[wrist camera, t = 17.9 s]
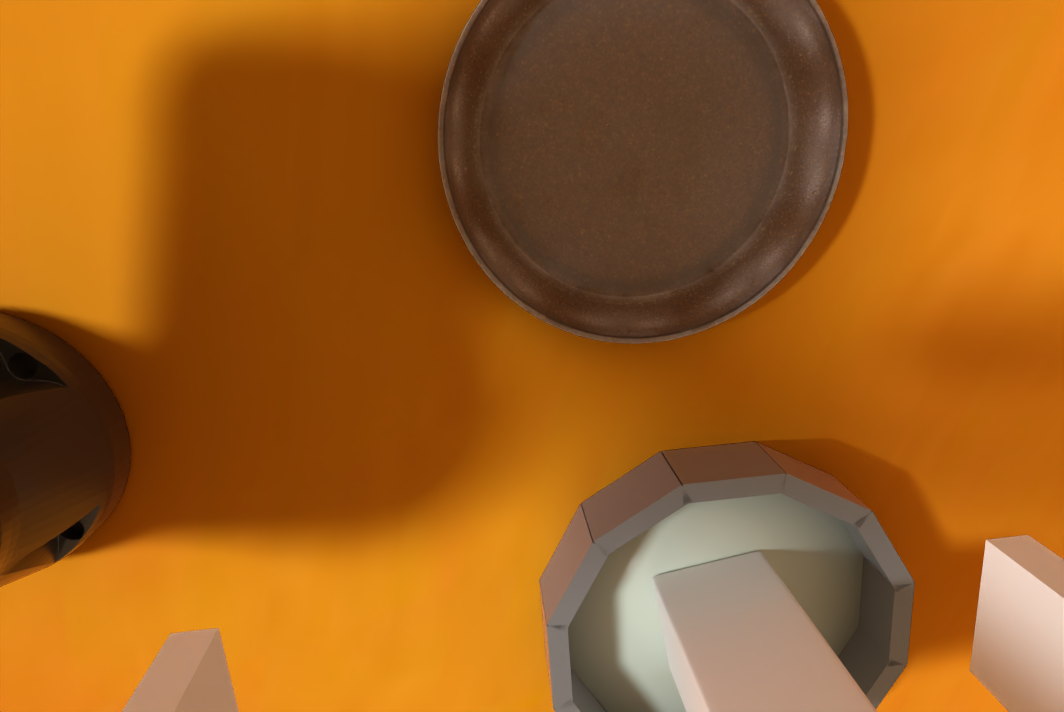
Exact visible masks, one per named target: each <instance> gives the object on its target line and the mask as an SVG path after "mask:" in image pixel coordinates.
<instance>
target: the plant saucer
mask: <svg viewBox="0 0 1064 712" xmlns="http://www.w3.org/2000/svg"><path fill="white" fill-rule="evenodd" d="M847 134H848V97H847V88H846V81H845V75H844V70H843V66H842V61H841V58H840V55H839V51H838V47H837V44H836V41H835V38H834V36H833V34H832V32H831V29H830V26H829V24H828V22H827V20H826V18H825V16H824V14H823V12H822V10H821V8H820V7H819V5H818V3H817V2H816V0H481V1H480V3H479V4H478V6H477V7H476V9H475V10H474V12H473V14H472V15H471V17H470V19H469V20H468V22H467V24H466V25H465V27H464V29H463V31H462V33H461V35H460V37H459V40H458V42H457V44H456V47H455V49H454V52H453V54H452V57H451V60H450V63H449V66H448V70H447V73H446V77H445V80H444V84H443V89H442V95H441V101H440V109H439V119H438V155H439V164H440V171H441V177H442V182H443V187H444V191H445V195H446V198H447V202H448V205H449V208H450V211H451V214H452V216H453V219H454V222H455V224H456V226H457V228H458V231H459V232H460V234H461V236H462V238H463V240H464V242H465V244H466V246H467V248H468V249H469V251H470V253H471V254H472V256H473V257H474V259H475V260H476V262H477V263H478V264H479V266H480V267H481V268H482V270H483V271H484V272H485V273H486V275H487V276H488V277H489V278H490V279H491V280H492V281H493V282H494V283H495V285H496V286H497V287H498V288H499V289H500V290H501V291H502V292H503V293H504V294H506V295H507V296H508V297H509V298H510V299H511V300H513V301H514V302H515V303H516V304H518V305H519V306H520V307H522V308H523V309H524V310H526V311H527V312H529V313H531V314H532V315H534V316H535V317H537V318H539V319H540V320H542V321H544V322H546V323H548V324H550V325H552V326H554V327H556V328H559V329H561V330H564V331H566V332H569V333H572V334H575V335H578V336H581V337H585V338H589V339H594V340H599V341H605V342H614V343H630V344H639V343H653V342H661V341H668V340H673V339H677V338H681V337H685V336H688V335H692V334H695V333H698V332H701V331H704V330H707V329H709V328H711V327H714V326H716V325H718V324H720V323H722V322H724V321H726V320H728V319H730V318H732V317H734V316H735V315H737V314H738V313H740V312H742V311H743V310H745V309H746V308H748V307H749V306H751V305H752V304H754V303H755V302H756V301H758V300H759V299H760V298H762V297H763V296H764V295H765V294H766V293H768V292H769V291H770V290H771V289H772V288H773V287H774V286H775V285H776V284H778V283H779V282H780V281H781V279H782V278H783V277H784V276H785V275H786V274H787V273H788V272H789V271H790V270H791V269H792V267H793V266H794V265H795V263H796V262H797V261H798V260H799V259H800V257H801V256H802V255H803V253H804V252H805V250H806V249H807V247H808V246H809V245H810V243H811V242H812V240H813V238H814V236H815V235H816V233H817V231H818V229H819V228H820V226H821V224H822V222H823V220H824V218H825V216H826V214H827V211H828V209H829V207H830V205H831V203H832V200H833V197H834V194H835V191H836V189H837V186H838V182H839V179H840V175H841V170H842V166H843V162H844V155H845V148H846V141H847Z"/></svg>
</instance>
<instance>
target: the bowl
mask: <svg viewBox="0 0 1064 712" xmlns="http://www.w3.org/2000/svg"><path fill="white" fill-rule="evenodd" d="M757 551H760V552H762V553H763V554H764V556H765V557H766V559H767V560H768V561H769V563H770V564H771V565H772V567H773V568H774V570H775V571H776V572H777V574H778V575H779V577H780V578H781V579H782V581H783V582H784V583H785V585H786V586H787V588H788V589H789V590H790V592H791V593H792V594H793V596H794V597H795V599H796V600H797V601H798V603H799V604H800V606H801V607H802V608H803V610H804V611H805V612H806V614H807V615H808V617H809V618H810V619H811V621H812V622H813V624H814V625H815V626H816V628H817V629H818V630H819V632H820V633H821V635H822V636H823V637H824V639H825V640H826V642H827V643H828V644H829V646H830V647H831V648H832V650H833V651H834V653H835V654H836V655H837V657H838V658H839V659H840V661H841V662H842V664H843V665H844V666H845V668H846V669H847V671H848V672H849V673H850V675H851V676H852V677H853V679H854V680H855V682H856V683H857V684H858V686H859V687H860V689H861V690H862V691H863V693H864V694H865V695H866V697H867V698H868V700H869V701H870V702H871V704H872V705H873V706H874V708H875V709H876V708H877V707H878V705H879V704H880V703H881V701H882V700H883V698H884V697H885V696H886V694H887V693H888V691H889V690H890V688H891V687H892V686H893V684H894V683H895V681H896V680H897V678H898V677H899V676H900V674H901V673H902V671H903V670H904V669H905V667H906V666H907V665H906V664H907V660H908V650H909V639H910V628H911V617H912V607H913V596H914V585H915V583H914V580H913V579H912V577H911V575H910V573H909V572H908V570H907V568H906V567H905V565H904V563H903V562H902V560H901V558H900V557H899V555H898V553H897V552H896V550H895V548H894V547H893V545H892V543H891V542H890V540H889V538H888V537H887V535H886V533H885V532H884V530H883V528H882V527H881V525H880V523H879V521H878V520H877V518H876V516H875V515H874V513H873V511H871V510H870V509H869V508H868V507H867V506H866V505H865V504H864V503H863V502H861V501H860V500H859V499H858V498H857V497H856V496H855V495H854V494H853V493H851V492H850V491H849V490H848V489H847V488H846V487H845V486H844V485H843V484H841V483H840V482H839V481H838V480H837V479H836V478H835V477H834V476H832V475H830V474H828V473H826V472H823V471H821V470H819V469H817V468H814V467H812V466H810V465H808V464H805V463H803V462H801V461H799V460H796V459H794V458H792V457H790V456H787V455H785V454H783V453H781V452H778V451H776V450H774V449H772V448H769V447H767V446H765V445H763V444H760V443H758V442H755V441H752V442H743V443H733V444H724V445H714V446H705V447H695V448H686V449H676V450H666V451H662V453H661V452H659V453H657V454H656V455H654V456H653V457H651V458H650V459H648V460H646V461H645V462H643V463H642V464H640V465H639V466H637V467H636V468H634V469H633V470H631V471H630V472H628V473H627V474H625V475H623V476H622V477H620V478H619V479H617V480H616V481H614V482H613V483H611V484H610V485H608V486H607V487H605V488H604V489H602V490H600V491H599V492H597V493H596V494H594V495H593V496H591V497H590V498H588V499H587V500H585V501H584V502H582V504H580V506H579V508H578V509H577V511H576V513H575V515H574V517H573V519H572V521H571V522H570V524H569V526H568V528H567V530H566V532H565V534H564V535H563V537H562V539H561V541H560V543H559V545H558V547H557V548H556V550H555V552H554V554H553V556H552V558H551V560H550V561H549V563H548V565H547V567H546V569H545V571H544V573H543V574H542V576H541V578H540V593H541V605H542V617H543V628H544V640H545V652H546V661H547V668H548V675H549V682H550V689H551V695H552V702H553V708H554V710H555V711H556V712H686V710H685V707H684V704H683V702H682V699H681V696H680V694H679V691H678V689H677V686H676V683H675V681H674V678H673V676H672V673H671V670H670V667H669V662H668V657H667V652H666V647H665V642H664V636H663V631H662V626H661V621H660V616H659V611H658V606H657V601H656V595H655V590H654V585H653V580H652V578H653V577H654V576H657V575H660V574H664V573H668V572H673V571H677V570H681V569H685V568H689V567H693V566H697V565H702V564H706V563H710V562H714V561H718V560H722V559H727V558H731V557H735V556H739V555H743V554H747V553H752V552H757Z"/></svg>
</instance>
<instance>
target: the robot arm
mask: <svg viewBox="0 0 1064 712" xmlns="http://www.w3.org/2000/svg"><path fill="white" fill-rule="evenodd" d="M129 468H130V441H129V435H128V430H127V426H126V423H125V419H124V416H123V414H122V411H121V409H120V406H119V404H118V402H117V400H116V398H115V396H114V395H113V393H112V391H111V390H110V388H109V387H108V385H107V384H106V382H105V381H104V379H103V378H102V377H101V376H100V374H99V373H98V372H97V371H96V370H95V368H94V367H93V366H92V365H91V364H90V363H89V362H88V361H87V360H86V359H85V358H84V357H83V356H82V355H81V354H79V353H78V352H77V351H76V350H75V349H74V348H72V347H71V346H70V345H68V344H67V343H66V342H64V341H63V340H61V339H60V338H58V337H57V336H55V335H53V334H52V333H50V332H48V331H46V330H45V329H43V328H41V327H39V326H37V325H34V324H32V323H30V322H27V321H25V320H22V319H20V318H17V317H14V316H11V315H7V314H4V313H0V587H1V586H4V585H6V584H8V583H11V582H13V581H16V580H18V579H20V578H23V577H25V576H28V575H30V574H33V573H35V572H37V571H40V570H42V569H44V568H47V567H49V566H51V565H53V564H55V563H56V562H58V561H60V560H61V559H63V558H64V557H66V556H68V555H69V554H70V553H72V552H73V551H74V550H76V549H77V548H78V547H79V546H81V545H82V544H83V543H84V542H85V541H86V540H87V539H88V538H89V537H90V536H91V535H92V534H93V533H94V532H95V531H96V530H97V529H98V528H99V527H100V526H101V525H102V524H103V523H104V522H105V521H106V520H107V518H108V517H109V516H110V515H111V513H112V512H113V510H114V509H115V507H116V506H117V504H118V502H119V500H120V498H121V496H122V494H123V492H124V489H125V486H126V483H127V479H128V475H129ZM970 671H971V672H972V673H973V675H974V676H975V677H976V678H977V679H978V680H979V681H980V682H981V683H982V684H983V685H984V686H985V687H986V688H987V689H988V690H989V691H990V692H991V693H992V694H993V695H994V696H995V697H996V699H997V700H998V701H999V702H1000V703H1001V704H1002V705H1003V706H1004V707H1005V708H1006V709H1007V710H1008V711H1009V712H1064V559H1062V558H1061V557H1059V556H1058V555H1056V554H1055V553H1053V552H1052V551H1051V550H1049V549H1048V548H1046V547H1045V546H1043V545H1042V544H1040V543H1039V542H1037V541H1036V540H1035V539H1033V538H1032V537H1030V536H1029V535H1022V536H1014V537H1005V538H996V539H988V540H986V544H985V552H984V560H983V568H982V576H981V584H980V592H979V600H978V608H977V616H976V624H975V632H974V640H973V648H972V656H971V664H970ZM122 712H239V711H238V707H237V703H236V699H235V695H234V690H233V686H232V682H231V678H230V674H229V670H228V665H227V661H226V657H225V653H224V649H223V645H222V640H221V636H220V632H219V628H215V629H206V630H197V631H189V632H180V633H171V634H170V635H169V637H168V639H167V640H166V642H165V643H164V645H163V647H162V648H161V650H160V651H159V653H158V655H157V656H156V658H155V659H154V661H153V663H152V664H151V666H150V667H149V669H148V671H147V672H146V674H145V675H144V677H143V679H142V680H141V682H140V683H139V685H138V687H137V688H136V690H135V691H134V693H133V695H132V696H131V698H130V699H129V701H128V703H127V704H126V706H125V707H124V709H123V711H122Z"/></svg>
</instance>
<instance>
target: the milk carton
mask: <svg viewBox="0 0 1064 712" xmlns="http://www.w3.org/2000/svg"><path fill="white" fill-rule="evenodd" d="M652 580H653V585H654V590H655V595H656V601H657V606H658V611H659V616H660V621H661V626H662V631H663V636H664V642H665V647H666V652H667V657H668V662H669V667H670V670H671V673H672V676H673V678H674V681H675V683H676V686H677V689H678V691H679V694H680V696H681V699H682V702H683V704H684V707H685V710H686V712H877V711H876V709H875V708H874V706H873V705H872V704H871V702H870V701H869V700H868V698H867V697H866V695H865V694H864V693H863V691H862V690H861V689H860V687H859V686H858V684H857V683H856V682H855V680H854V679H853V677H852V676H851V675H850V673H849V672H848V671H847V669H846V668H845V666H844V665H843V664H842V662H841V661H840V659H839V658H838V657H837V655H836V654H835V653H834V651H833V650H832V648H831V647H830V646H829V644H828V643H827V642H826V640H825V639H824V637H823V636H822V635H821V633H820V632H819V630H818V629H817V628H816V626H815V625H814V624H813V622H812V621H811V619H810V618H809V617H808V615H807V614H806V612H805V611H804V610H803V608H802V607H801V606H800V604H799V603H798V601H797V600H796V599H795V597H794V596H793V594H792V593H791V592H790V590H789V589H788V588H787V586H786V585H785V583H784V582H783V581H782V579H781V578H780V577H779V575H778V574H777V572H776V571H775V570H774V568H773V567H772V565H771V564H770V563H769V561H768V560H767V559H766V557H765V556H764V554H763V553H762V552H760V551H757V552H752V553H747V554H743V555H739V556H735V557H731V558H727V559H722V560H718V561H714V562H710V563H706V564H702V565H697V566H693V567H689V568H685V569H681V570H677V571H673V572H668V573H664V574H660V575H657V576H654V577H653V578H652Z"/></svg>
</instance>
